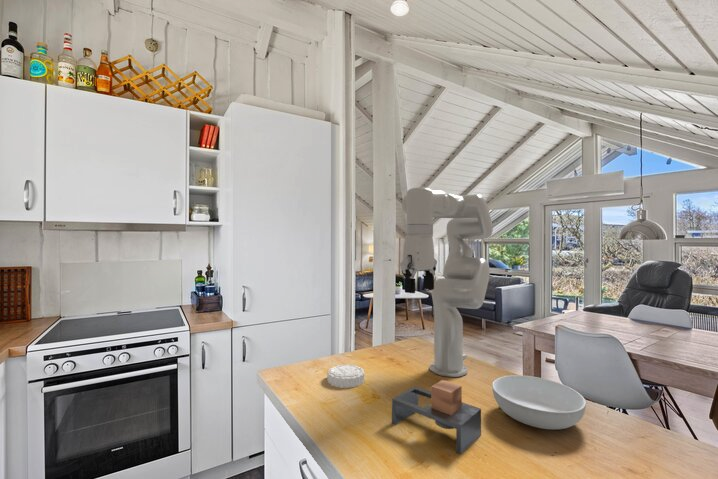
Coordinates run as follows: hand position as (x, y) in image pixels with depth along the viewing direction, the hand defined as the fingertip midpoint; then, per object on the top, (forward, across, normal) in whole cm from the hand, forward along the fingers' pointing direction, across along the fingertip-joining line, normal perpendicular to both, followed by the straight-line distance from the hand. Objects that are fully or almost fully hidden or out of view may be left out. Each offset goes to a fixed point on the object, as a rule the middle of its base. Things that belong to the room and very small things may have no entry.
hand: (419, 290), depth 98 cm
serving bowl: (+31, -10, +28) cm, 43 cm away
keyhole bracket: (+30, +12, +12) cm, 35 cm away
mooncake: (+31, +6, -24) cm, 40 cm away
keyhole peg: (+28, +12, +15) cm, 34 cm away
